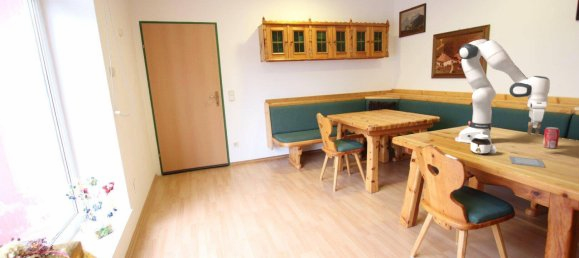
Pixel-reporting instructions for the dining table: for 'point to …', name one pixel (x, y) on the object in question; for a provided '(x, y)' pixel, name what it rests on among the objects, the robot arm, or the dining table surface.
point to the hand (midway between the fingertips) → (533, 126)
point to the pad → (526, 161)
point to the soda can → (551, 137)
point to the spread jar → (482, 145)
